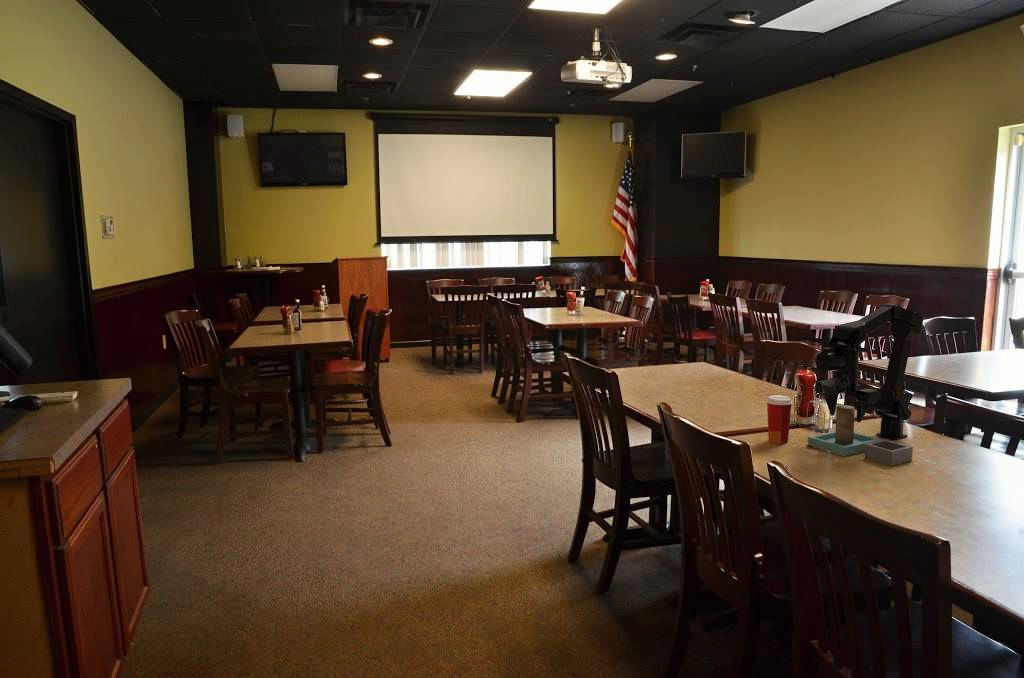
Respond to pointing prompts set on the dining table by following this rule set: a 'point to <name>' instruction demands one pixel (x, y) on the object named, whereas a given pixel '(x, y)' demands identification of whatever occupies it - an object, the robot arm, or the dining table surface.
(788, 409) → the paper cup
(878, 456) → the holder
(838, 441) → the pepper mill
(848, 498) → the dining table surface
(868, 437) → the tray
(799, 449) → the dining table surface
